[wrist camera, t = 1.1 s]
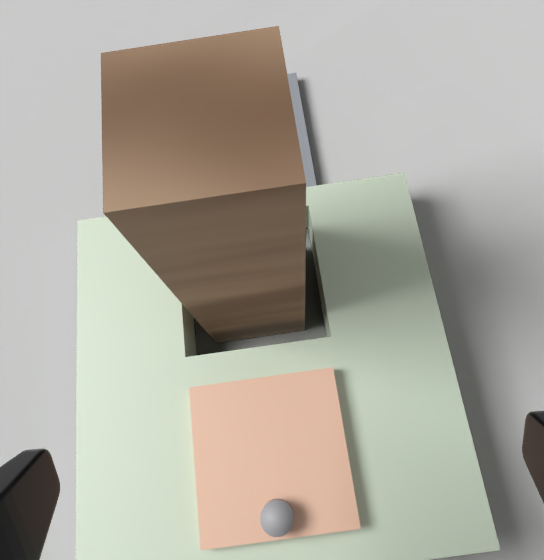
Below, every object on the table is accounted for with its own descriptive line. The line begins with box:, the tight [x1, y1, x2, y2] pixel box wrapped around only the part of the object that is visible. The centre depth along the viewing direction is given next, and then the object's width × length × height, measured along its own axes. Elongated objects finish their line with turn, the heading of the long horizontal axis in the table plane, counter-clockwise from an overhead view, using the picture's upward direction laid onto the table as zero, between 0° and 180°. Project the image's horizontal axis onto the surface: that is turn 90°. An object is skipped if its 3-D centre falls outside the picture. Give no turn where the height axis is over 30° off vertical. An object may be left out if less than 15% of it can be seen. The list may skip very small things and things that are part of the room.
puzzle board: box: [76, 173, 500, 560], centre depth 21 cm, size 16×16×4 cm
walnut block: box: [101, 26, 306, 343], centre depth 18 cm, size 4×4×14 cm
